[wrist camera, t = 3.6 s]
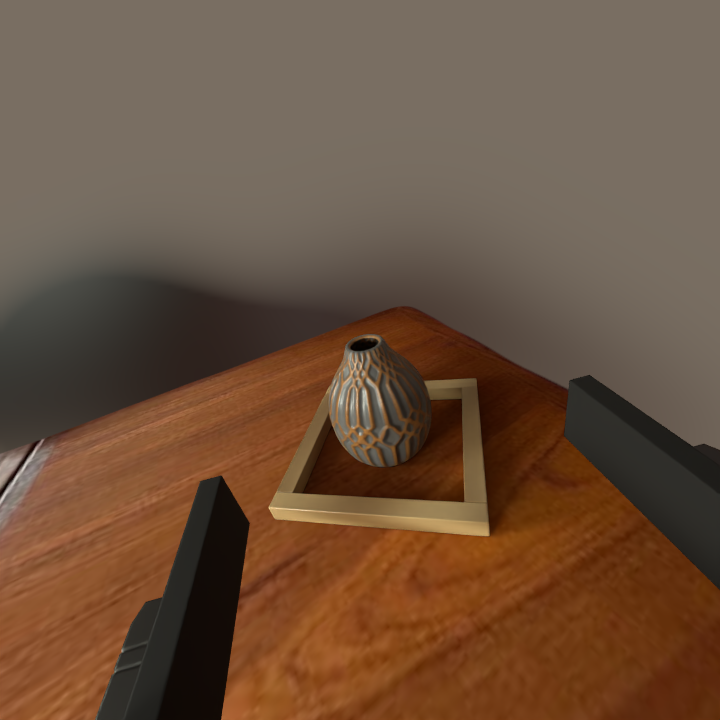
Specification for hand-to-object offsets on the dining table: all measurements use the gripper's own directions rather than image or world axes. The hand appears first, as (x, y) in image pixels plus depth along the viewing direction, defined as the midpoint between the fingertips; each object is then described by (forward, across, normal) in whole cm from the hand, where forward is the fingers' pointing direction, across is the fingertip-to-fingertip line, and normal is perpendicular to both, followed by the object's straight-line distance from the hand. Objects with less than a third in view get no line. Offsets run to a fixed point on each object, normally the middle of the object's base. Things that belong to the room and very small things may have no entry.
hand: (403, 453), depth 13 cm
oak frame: (+10, 0, -9) cm, 13 cm away
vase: (+10, 0, -9) cm, 13 cm away
